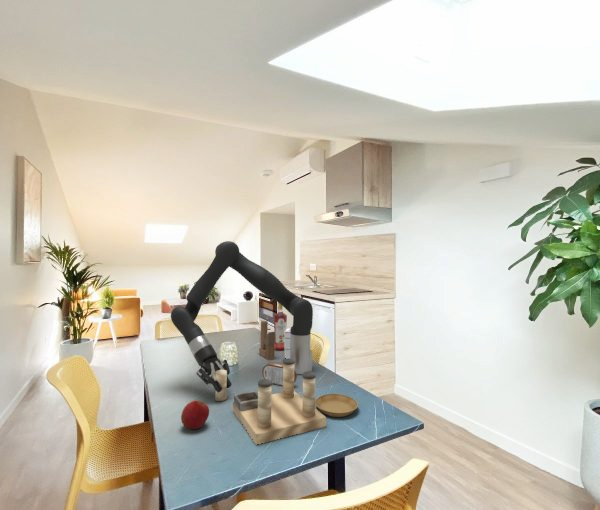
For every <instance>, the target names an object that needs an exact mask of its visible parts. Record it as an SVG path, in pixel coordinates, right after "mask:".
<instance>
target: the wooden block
mask: <svg viewBox="0 0 600 510" xmlns="http://www.w3.org/2000/svg"><path fill="white" fill-rule="evenodd" d="M268 325H269V324H268V320H261V321H260V348H259V349H258V355H259V356H261V357H263V358H264V359H265V360H268V361H270V360H271V361H272V360H275V350H276V349H275V331H268V328H269V327H268Z"/></svg>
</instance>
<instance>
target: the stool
mask: <svg viewBox="0 0 600 510" xmlns="http://www.w3.org/2000/svg"><path fill="white" fill-rule="evenodd" d="M294 363H295V360H294V359H285V358H284V359H282V364H283V386H282V392H278V393H272V392H273V391H272V387H273V384H272V381H271V380H269V379H264V378H262V379H259V380H258V381H257V391H256V390H253V391H246V392H241V393H236V394H233V402H232V411H233V413H234V415H235V416H236V417H237V419H238V421H239V422H240V421H241V422H240V423H241V425H242V424H243V425H242V427H243V428H244V427H245V428H244V429H245V431H246V430H247V431H246V433H247V434H248V433H249V434H248V435H249V437H250V436H251V437H250V438H251V440H252V439H253V440H252V441H253V443H254V442H255V443H254V444H255V446H258V445H257V444H259V445H262V444H261V443H263V444H266V443H269V441H270V442H274V441H277V439H278V440H281V439H280V438H282V439H285V438H288V436H289V437H292V435H293V436H296V434H297V435H300V434H304V433H306V432H307V433H308V432H311V431H315V430H319V429H323V428H326V426H327V416H325V414H324V413H323V412H322V411H320V410H319V409H317V408H316V404H315V400H316V377H317V373H315V372H314V371H311V372H304V373H303V374H302V395H300V394H299V393H298V392H296V391H295V383H294ZM284 437H285V438H284ZM273 440H274V441H273ZM265 442H266V443H265Z"/></svg>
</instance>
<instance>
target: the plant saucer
mask: <svg viewBox="0 0 600 510" xmlns="http://www.w3.org/2000/svg"><path fill="white" fill-rule="evenodd" d="M358 406H359V403H358V401H357V400H356V399H354V398H353V397H351V396H349V395H345V394H341V393H327V394H326V393H325V394H322V395H320V396H318V397H317V398H315V407H317V408H318V410H319V412H321V413H322V414H323V415H326V416H328V417H334V418H335V417H336V418H342V417H347V416H349V415H351V414H353V413H354V412H355V411H356V409H357V408H358Z"/></svg>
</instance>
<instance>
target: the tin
mask: <svg viewBox="0 0 600 510" xmlns="http://www.w3.org/2000/svg"><path fill="white" fill-rule="evenodd" d="M261 372H262V377H263V379H269V380H271V381H272V385H276V386H280V387H283V363H280V362H273V361H271V362H268V363H266V364H265V365H264V366H263V368H262V371H261ZM297 376H298V374H296V371H295V370H294V384H295V383H296V381H297V378H298V377H297Z"/></svg>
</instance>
